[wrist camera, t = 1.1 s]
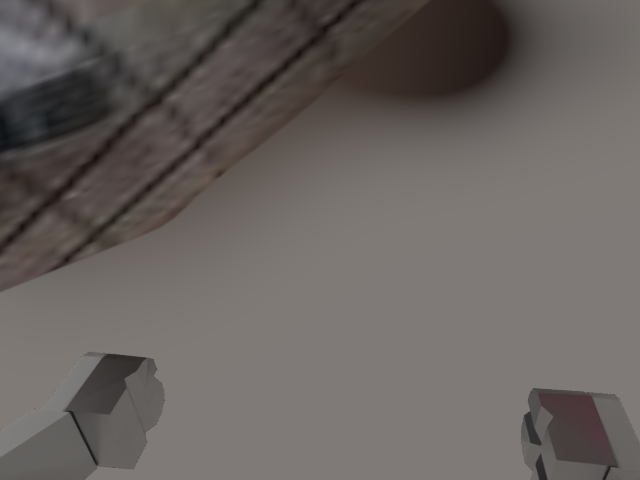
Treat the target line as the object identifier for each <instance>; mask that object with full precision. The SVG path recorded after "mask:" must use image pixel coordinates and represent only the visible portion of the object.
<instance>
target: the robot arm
mask: <svg viewBox="0 0 640 480" xmlns="http://www.w3.org/2000/svg"><path fill="white" fill-rule="evenodd" d="M156 371H157V367H156V365H155V362H154V360H153V359H151V358H145V357H135V356H126V355H117V354H105V353H95V352H88V353H86V354H84V355H83V356H81V358H80V359H79V360H78V362H77V363H76V364H75V365H74V367H73V368H72V370H71V371H70V372H69V373H68V375H67V376H66V377H65V378H64V380H63V381H62V383H61V384H60V385H59V386H58V388H57V389H56V390H55V392H54V393H53V394H52V396H51V397H50V398H49V399H48V401H47V402H46V403H45V405H44V406H43V407H42V409H34V410H32V411H30V412H28V413H27V414H25V415H24V416H22V417H20V418H18V419H17V420H15V421H13V422H12V423H10V424H8V425H7V426H5V427H3V428H2V429H0V480H85V479H86V478H87V477H88V476H89V475H90V474H92V473H93V472H94V471H95V470H96V469H97V466H100V467H112V468H123V469H134V467H135V465H136V463H137V461H138V459H139V457H140V456H141V453H142V452H143V450H144V448H145V446H146V444H147V439H146V434H145V433H146V432H147V431H148V430H150V429H151V428H152V427H154V426H155V425H156V424H157V422H158V420H159V418H160V416H161V414H162V409H163V404H164V401H165V400H164V389H163V386H162V383H161V382H160V381H159V380H158V379H156V378H155V377H154V374H155V373H156ZM528 403H529V407H530V412H528V413H527V414H525V415H524V418H523V422H522V429H521V443H522V451H523V456H524V461H525V464H527V466H528V467H529V468H530V469H531V470H532V471H533V474H532V477H531V480H640V442H639V440H638V438H637V436H636V434H635V431H634V429H633V427H632V425H631V423H630V420H629V418H628V416H627V414H626V412H625V410H624V407H623V405H622V403H621V401H620V399H619V398H618V397H617V396H616V395H615V394H602V393H589V392H587V393H585V392H581V391H566V390H552V389H537V388H533V389H532V391H531V392H530V395H529V398H528Z"/></svg>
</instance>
